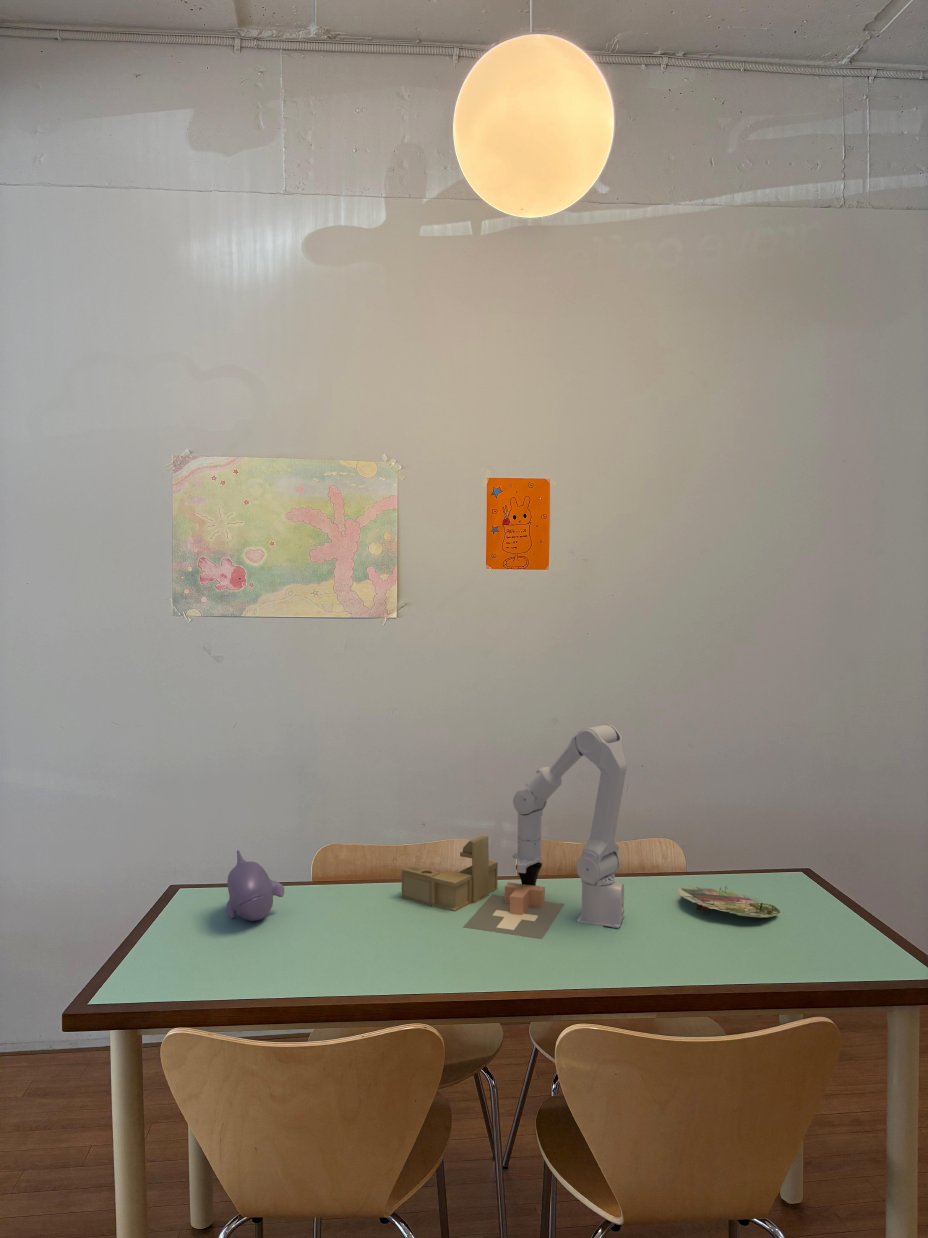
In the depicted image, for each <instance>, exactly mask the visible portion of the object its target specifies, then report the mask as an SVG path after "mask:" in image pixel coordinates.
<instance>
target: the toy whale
mask: <svg viewBox="0 0 928 1238" xmlns="http://www.w3.org/2000/svg"><path fill="white" fill-rule="evenodd" d="M236 861H237V862H236V865H235V866H234V867H233V868H232V869H231V870H230V871H229V872H228V876H227V882H226V884H227V890H228V894H229V900H228V901H227V902H226V909H225V911H226V914H227V915H228V916H229V917H230V918H231V919H234V918H235V917H236V916H237V914H238V915H239V917H241V918H242V919H244V920H246V921H248V922H249V921H250V922H254V921H255V922H257V921H261V920H262V919H263V918H265V917H266V916H267V915H268V914H269V913H270V912H271V909H272V908H273V904H274V896H275V897H278V898H282V897H284V895H285V886H284V885H283V884H282V883H280V882H279V881H277V880H272V879H270V877H269V874H268V873H267V871H266V870H265V869H264V868H263V866H262V865H260V863H258V862H256V861H247V860H245V859H244V858H243V857H242V854H241V851H240V850H239V849H238V850H236Z"/></svg>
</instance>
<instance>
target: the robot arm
mask: <svg viewBox="0 0 928 1238" xmlns="http://www.w3.org/2000/svg"><path fill="white" fill-rule="evenodd" d="M623 750H624V749H623V736H622V735H621V733H620V732H619V730H618V729H617V728H616V727H615V726H614V725H612V724H609V723H603V724H599V725H597V726H592V727H584V728H582V729H579V731H578V732H577V733H576V735H574V736H573V737H571V740H570V742H569V743H568V745H567V746H566V747H565V748H564V750H563V751H562V752H561V753H560V755H559V756H558V757H557V759H555V761H554V762H553V763H552V764H551V766H543V767H541V768H538V769H537V770H536V775H535V776H534V777H533V779H531V781H529V782H527V783H526V784H525V788H524V789H519V790H516V792H515V794H514V795H513V800H512V803H513V807H514V809H515V811H516V812H517V853H513V854H512V859H516V862H517V864H516V865H515V870H516V873H518V876H519V879H520V882H521V883H520V884H525V885H533V886H537V879H538V876H539V874H540V871H541V869H542V867H543V863H542V862H541V861H543V860H542V859H543V858H542V857H543V856H542V816H543V812H544V811H543V810H544V809H545V807H546V806H547V800H548V799H550V797H551V796H552V795H553V794H554V793H555V792H556V790H558V788H559V787H560V786H562V781H563V780H562V777H563V776H564V775H565V774H566V772H568V771H569V770H570V768H572V767H573V766H574V765H575V764H576V763H577V762H578V761H579V760H580V759H581V758H582V757H585V758H587V760H589V761H590V762H591V763H593V764H594V765H595V766H596V768H598V770H599V772H600V776H599V780H598V781H599V783H598V788H597V794H596V800H595V804H594V805H595V806H594V812H593V819H592V823H591V829H590V830H591V831H590V836H589V839H588V840H587V841H586V843H585V844H584V846H583V848H582V852H581V855H580V856H579V858H578V859H577V861H576V866H575V867H576V873H577V875H578V877H579V878H580V880H581V913H580V915H579V916H578V917H577V920H576V922H577V923H581V924H589V925H595V926H596V925H597V926H602V927H609V928H615V929H616V928H617V929H619V928H620V927H621V925H622V923H623V920H624V918H625V884H624V883H622V882H618V881H616V880H615V873H617V872H618V871H619V869H620V865H621V860H620V856H619V848H620V846H619V844H617V843H616V842H615V837H616V831H617V825H618V820H619V814H620V808H621V802H622V795H623V790H624V785H625V780H626V779H625V778H626V774H627V773H626V772H627V763H626V758H625V753H624V751H623Z"/></svg>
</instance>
